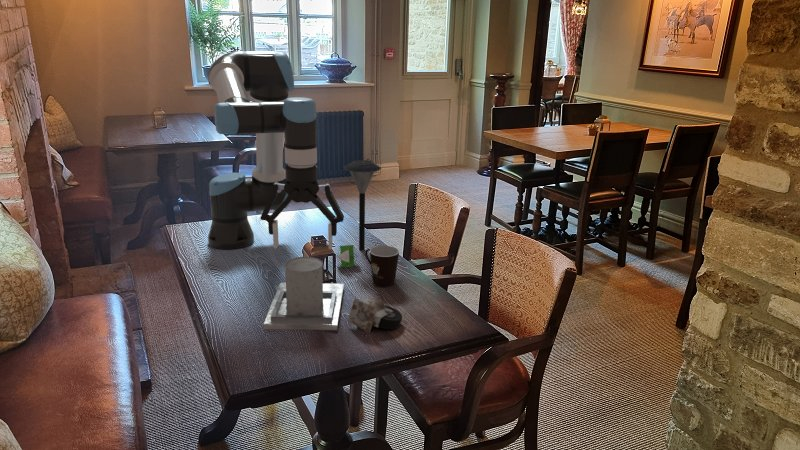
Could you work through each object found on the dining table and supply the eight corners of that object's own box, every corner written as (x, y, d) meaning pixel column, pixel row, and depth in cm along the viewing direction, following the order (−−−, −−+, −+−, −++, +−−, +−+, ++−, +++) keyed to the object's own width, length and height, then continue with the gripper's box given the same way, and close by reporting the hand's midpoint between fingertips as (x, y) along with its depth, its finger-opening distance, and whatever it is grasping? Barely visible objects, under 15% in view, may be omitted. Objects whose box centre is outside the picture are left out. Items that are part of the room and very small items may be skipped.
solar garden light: (365, 259, 185) (366, 168, 175) (336, 250, 191) (335, 163, 182) (386, 248, 195) (388, 161, 185) (358, 240, 201) (358, 156, 191)
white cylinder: (303, 319, 142) (301, 274, 138) (278, 307, 148) (276, 264, 144) (331, 307, 149) (330, 263, 145) (306, 295, 155) (305, 253, 151)
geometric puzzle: (334, 253, 183) (336, 240, 176) (355, 252, 185) (357, 238, 178) (336, 273, 179) (339, 260, 173) (358, 271, 181) (361, 258, 174)
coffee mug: (402, 286, 166) (403, 254, 163) (374, 290, 163) (374, 257, 160) (389, 271, 176) (390, 241, 173) (362, 274, 173) (363, 243, 170)
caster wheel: (402, 330, 147) (383, 342, 138) (367, 311, 151) (346, 321, 142) (410, 308, 145) (391, 318, 136) (374, 289, 149) (353, 298, 141)
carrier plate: (280, 287, 163) (279, 266, 161) (343, 288, 164) (343, 267, 161) (263, 329, 140) (262, 305, 138) (337, 330, 141) (337, 306, 139)
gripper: (354, 162, 140) (353, 242, 147) (252, 159, 139) (256, 240, 146) (352, 169, 133) (352, 253, 140) (245, 166, 132) (250, 251, 139)
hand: (303, 246), depth 143 cm, fingers open, 13 cm apart
